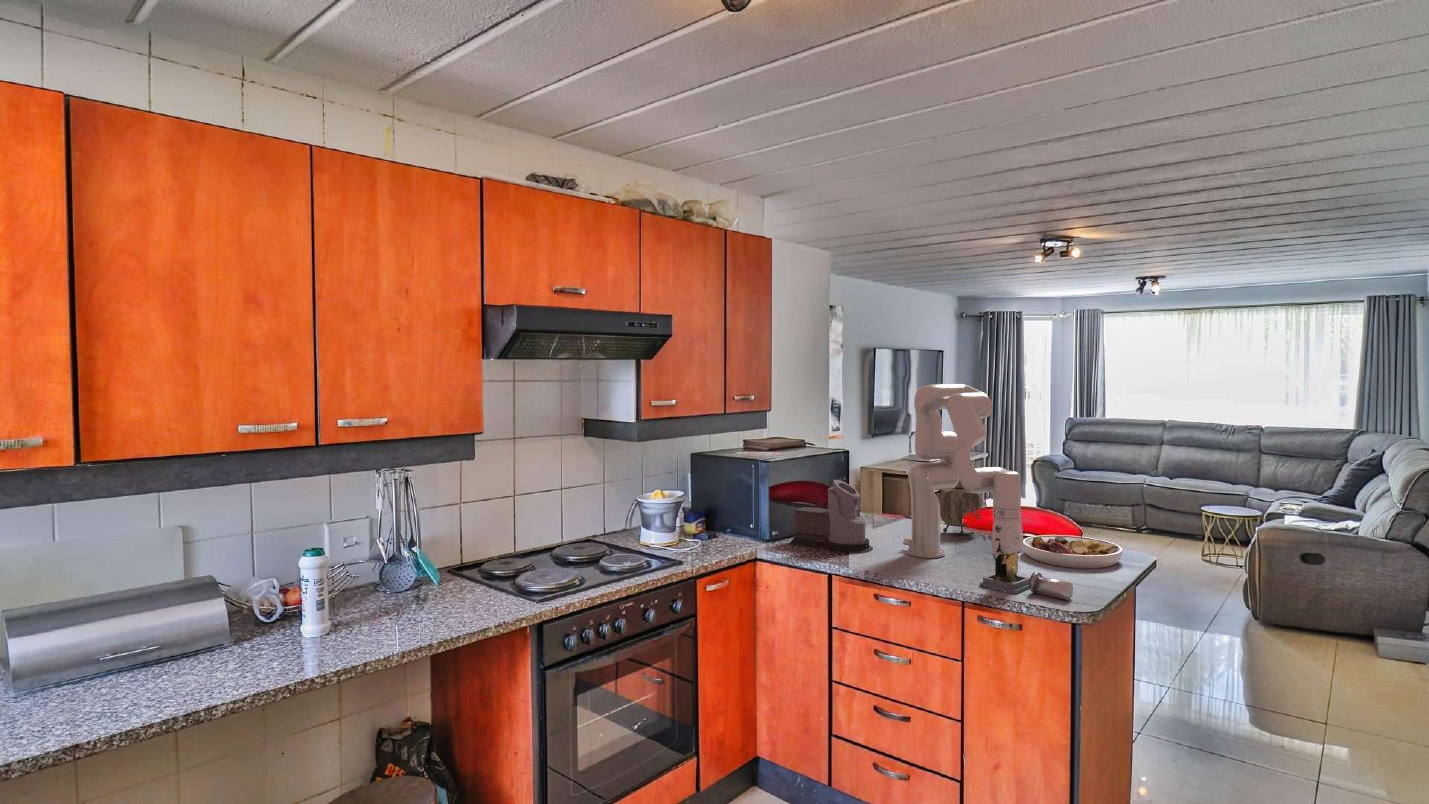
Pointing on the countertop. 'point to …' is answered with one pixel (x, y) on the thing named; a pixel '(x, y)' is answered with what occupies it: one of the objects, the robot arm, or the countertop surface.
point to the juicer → (833, 523)
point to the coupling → (1010, 568)
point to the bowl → (1072, 551)
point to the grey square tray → (1006, 584)
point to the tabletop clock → (958, 506)
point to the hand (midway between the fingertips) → (1006, 574)
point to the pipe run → (1050, 587)
